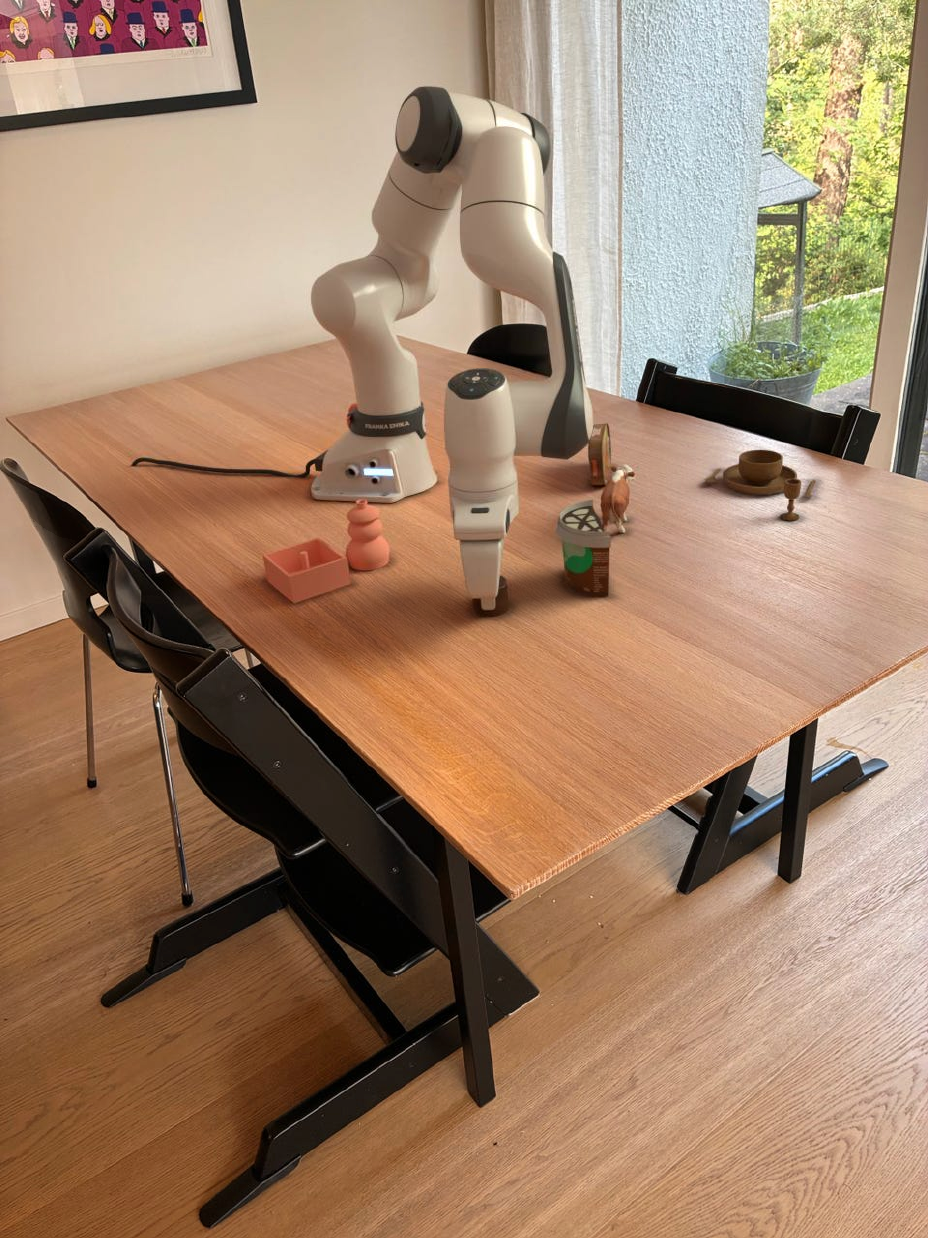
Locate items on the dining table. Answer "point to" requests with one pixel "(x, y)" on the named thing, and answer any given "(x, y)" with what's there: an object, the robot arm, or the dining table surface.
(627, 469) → the bull figurine
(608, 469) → the tin
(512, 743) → the dining table surface
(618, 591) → the dining table surface
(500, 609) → the brown cylinder
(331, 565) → the pottery
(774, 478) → the place setting
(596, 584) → the food container
